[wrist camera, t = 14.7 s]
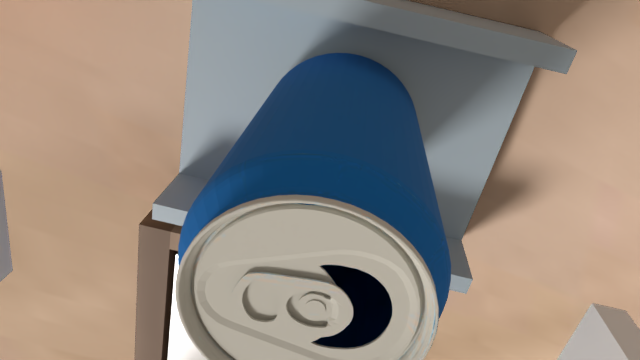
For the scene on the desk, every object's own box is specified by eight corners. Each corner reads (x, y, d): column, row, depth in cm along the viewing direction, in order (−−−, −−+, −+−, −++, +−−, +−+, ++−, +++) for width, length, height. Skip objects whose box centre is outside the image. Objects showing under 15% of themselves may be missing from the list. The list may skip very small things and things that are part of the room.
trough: (185, 178, 24) (151, 218, 20) (204, -48, 19) (165, -47, 16) (452, 241, 24) (466, 293, 20) (539, 31, 19) (577, 50, 15)
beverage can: (402, 196, 22) (427, 435, 11) (266, 179, 22) (165, 395, 12) (428, 57, 19) (496, 202, 8) (271, 40, 19) (142, 157, 9)
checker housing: (155, 343, 29) (127, 395, 26) (165, 194, 24) (131, 233, 21) (345, 388, 29) (341, 446, 26) (393, 248, 24) (396, 296, 21)
